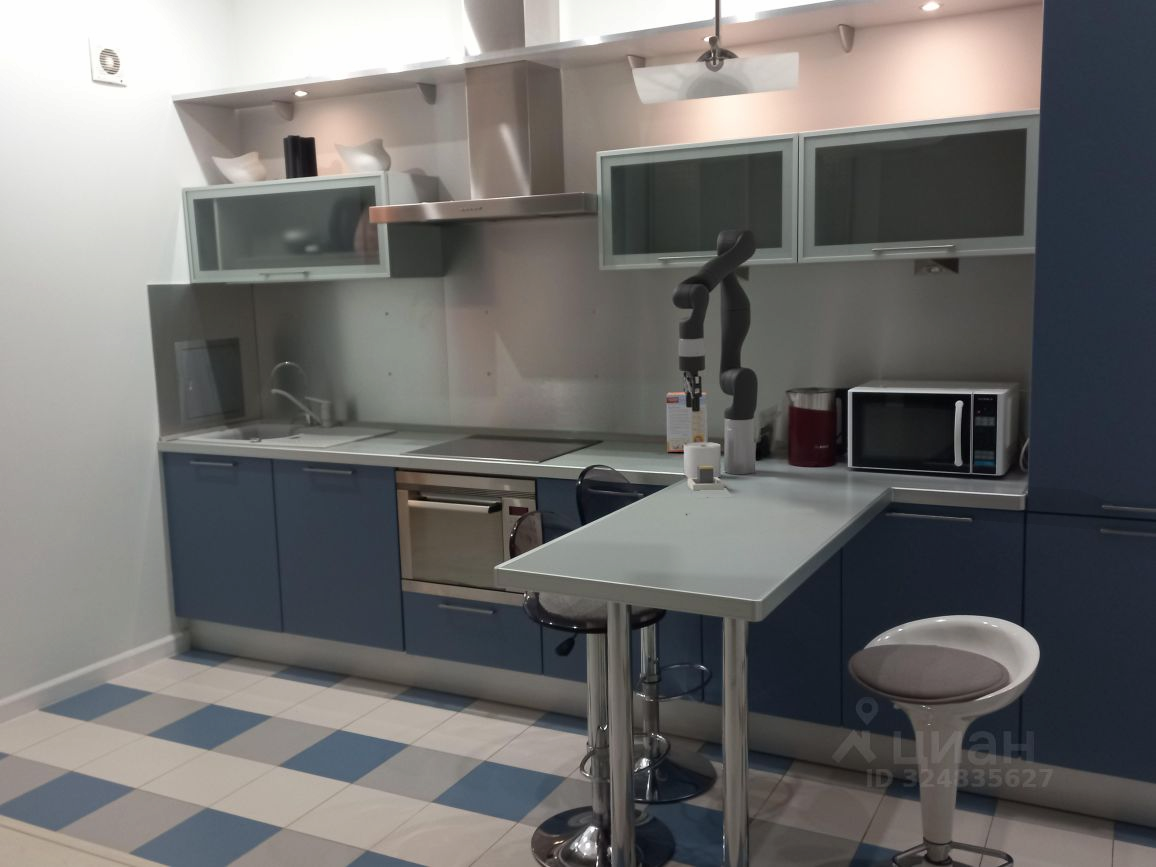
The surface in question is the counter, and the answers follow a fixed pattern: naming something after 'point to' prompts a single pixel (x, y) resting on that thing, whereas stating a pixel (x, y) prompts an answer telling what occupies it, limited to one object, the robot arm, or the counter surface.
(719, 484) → the cream rectangular tray
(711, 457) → the toilet tissue
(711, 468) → the plug
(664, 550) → the counter surface
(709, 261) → the robot arm
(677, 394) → the cracker box
